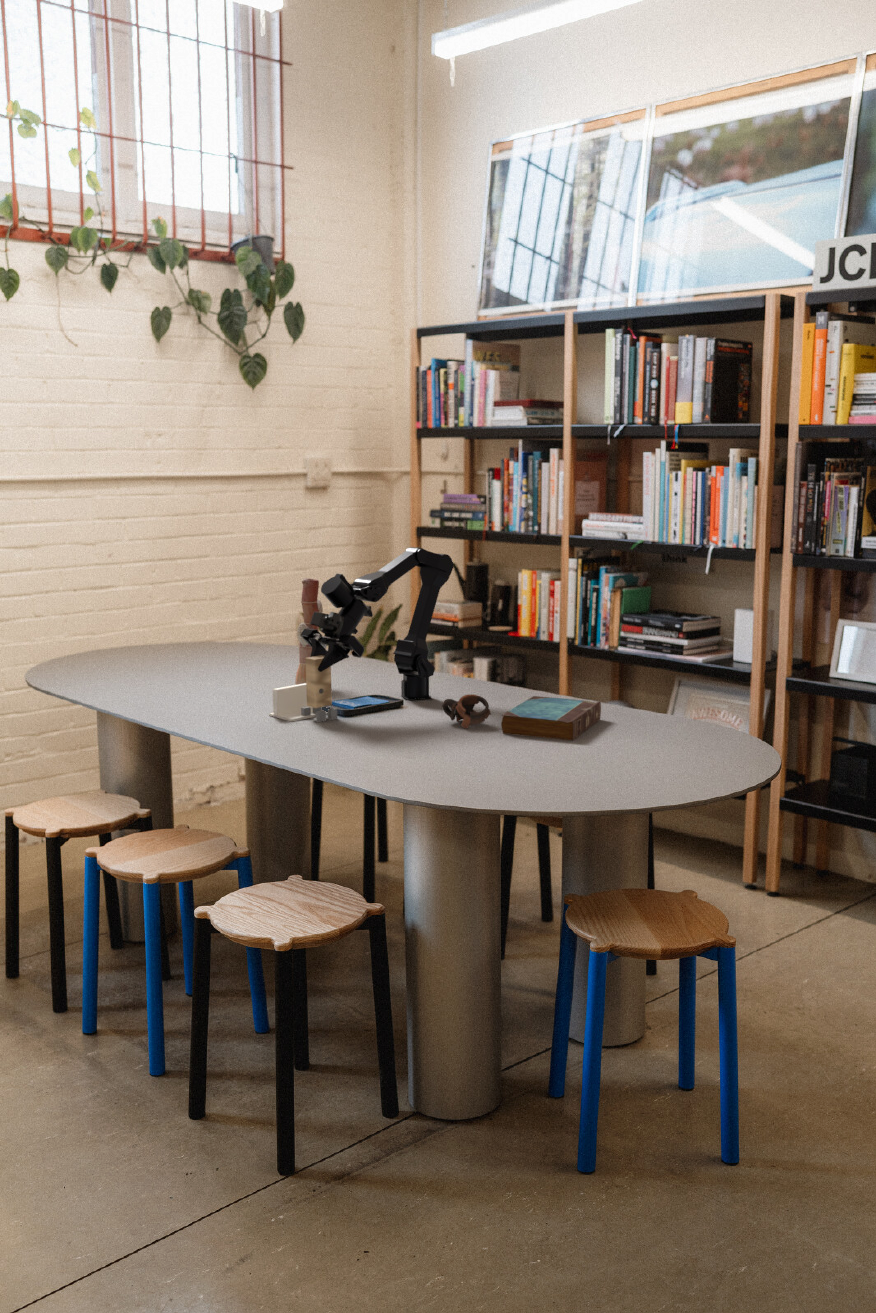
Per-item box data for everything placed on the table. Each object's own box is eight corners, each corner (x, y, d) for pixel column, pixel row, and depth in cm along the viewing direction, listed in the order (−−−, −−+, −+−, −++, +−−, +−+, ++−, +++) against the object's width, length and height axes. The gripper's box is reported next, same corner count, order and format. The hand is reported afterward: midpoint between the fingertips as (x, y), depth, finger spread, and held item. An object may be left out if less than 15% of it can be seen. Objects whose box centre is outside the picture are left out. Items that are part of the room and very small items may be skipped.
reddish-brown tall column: (305, 689, 325) (302, 581, 319) (288, 685, 330) (285, 579, 324) (333, 683, 332) (331, 577, 327) (316, 680, 337) (314, 575, 332)
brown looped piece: (490, 721, 288) (496, 696, 283) (481, 746, 281) (486, 721, 275) (443, 707, 289) (448, 682, 284) (433, 732, 282) (437, 707, 277)
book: (573, 743, 267) (573, 721, 266) (500, 735, 274) (500, 714, 273) (600, 721, 287) (601, 701, 286) (532, 715, 294) (532, 695, 293)
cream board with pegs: (313, 706, 303) (312, 680, 302) (350, 715, 293) (349, 688, 291) (269, 715, 293) (268, 688, 292) (305, 725, 283) (305, 696, 282)
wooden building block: (322, 702, 293) (321, 655, 291) (332, 704, 290) (331, 657, 288) (307, 705, 289) (305, 657, 287) (316, 708, 287) (315, 659, 284)
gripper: (305, 596, 294) (271, 645, 289) (354, 602, 281) (319, 654, 276) (330, 623, 301) (297, 672, 296) (379, 631, 288) (346, 682, 283)
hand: (314, 669), depth 287 cm, fingers closed on wooden building block, 3 cm apart
